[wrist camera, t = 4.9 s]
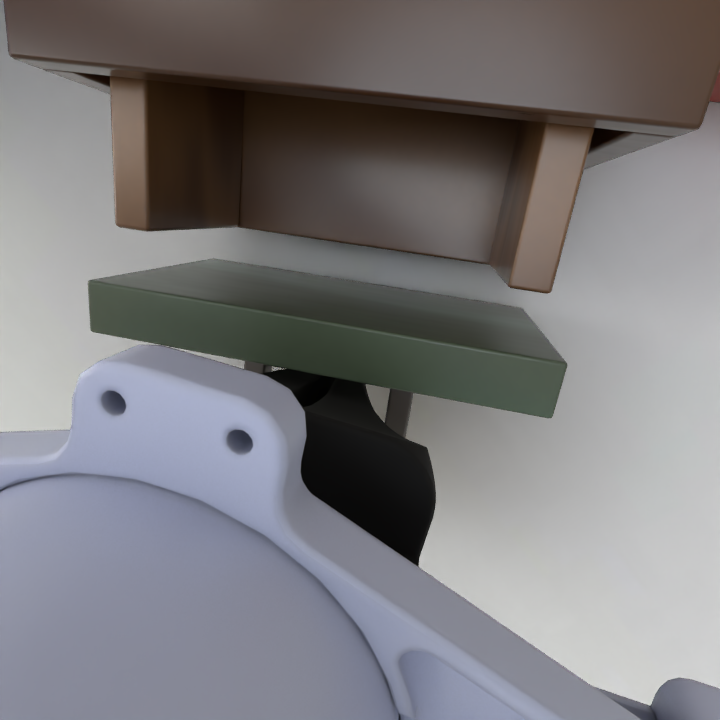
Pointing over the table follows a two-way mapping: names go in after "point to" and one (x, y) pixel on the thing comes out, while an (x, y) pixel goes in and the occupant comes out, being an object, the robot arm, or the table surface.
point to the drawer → (344, 236)
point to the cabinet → (406, 55)
